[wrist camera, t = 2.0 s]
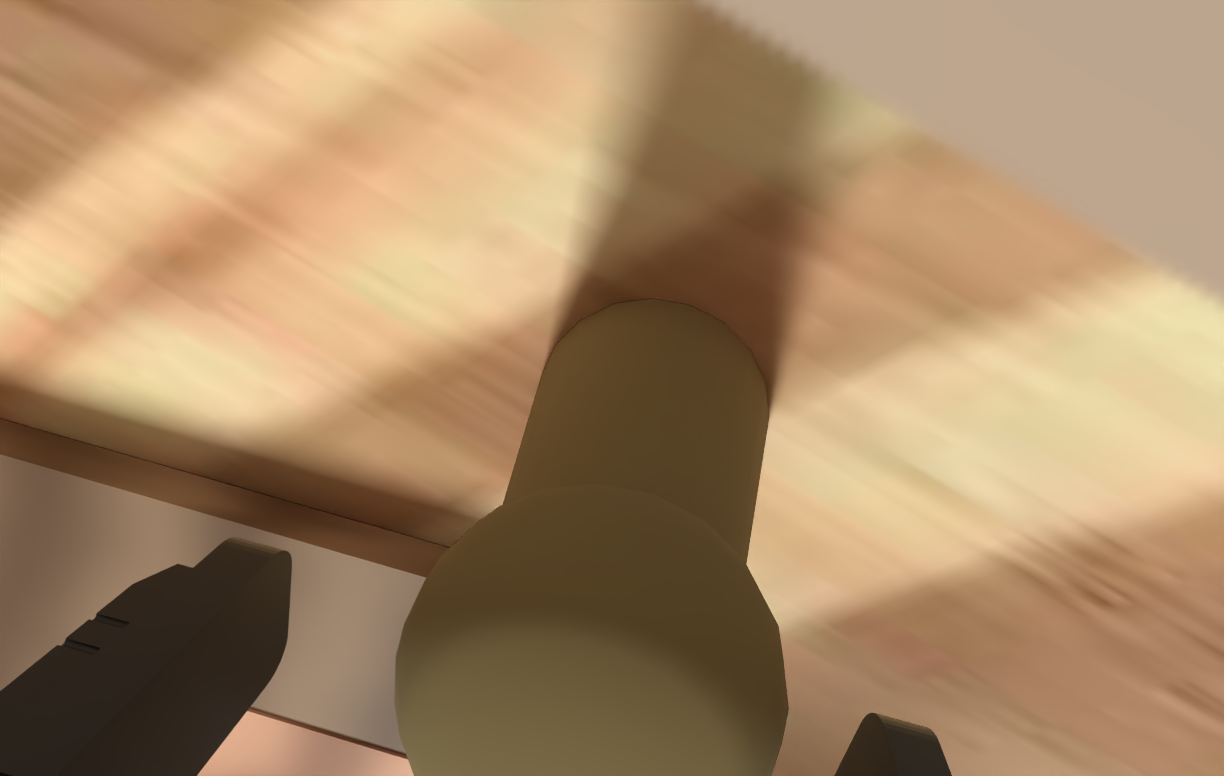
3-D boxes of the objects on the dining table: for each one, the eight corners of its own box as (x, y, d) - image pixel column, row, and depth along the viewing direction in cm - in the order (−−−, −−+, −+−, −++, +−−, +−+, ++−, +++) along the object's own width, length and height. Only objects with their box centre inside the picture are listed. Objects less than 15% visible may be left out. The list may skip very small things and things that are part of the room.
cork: (504, 336, 18) (220, 620, 8) (733, 267, 16) (763, 504, 6) (581, 532, 20) (436, 974, 9) (794, 486, 18) (894, 949, 8)
